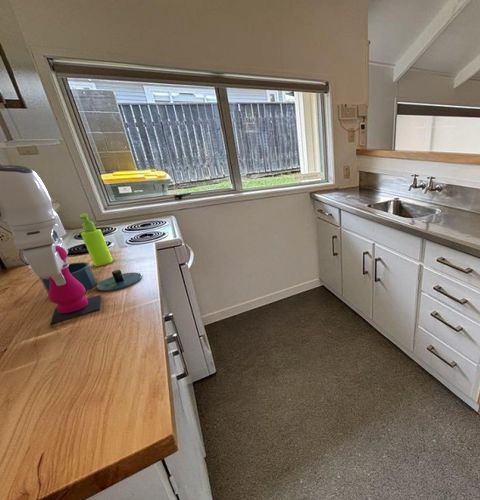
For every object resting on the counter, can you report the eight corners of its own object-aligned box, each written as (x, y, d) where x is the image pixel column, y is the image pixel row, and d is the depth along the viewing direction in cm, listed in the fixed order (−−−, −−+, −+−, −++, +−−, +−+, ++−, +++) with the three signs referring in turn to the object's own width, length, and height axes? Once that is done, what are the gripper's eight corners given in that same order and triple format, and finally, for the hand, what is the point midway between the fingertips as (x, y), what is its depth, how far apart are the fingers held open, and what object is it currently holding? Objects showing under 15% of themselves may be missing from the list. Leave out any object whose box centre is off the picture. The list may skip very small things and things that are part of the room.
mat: (51, 326, 74) (50, 323, 73) (57, 310, 81) (55, 307, 81) (100, 311, 79) (99, 308, 79) (101, 297, 87) (100, 294, 86)
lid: (97, 297, 87) (91, 284, 85) (98, 283, 96) (93, 270, 94) (143, 284, 94) (139, 271, 92) (141, 272, 102) (136, 260, 101)
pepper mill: (64, 303, 81) (34, 238, 74) (95, 298, 84) (69, 234, 76) (50, 317, 75) (16, 247, 68) (83, 311, 78) (54, 243, 70)
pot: (47, 304, 84) (36, 282, 81) (53, 289, 93) (43, 269, 90) (96, 291, 91) (87, 270, 88) (98, 278, 99) (89, 259, 96)
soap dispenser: (94, 268, 107) (72, 217, 100) (94, 262, 112) (73, 214, 105) (113, 263, 111) (93, 214, 103) (112, 258, 116) (93, 211, 108)
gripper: (30, 225, 77) (53, 271, 82) (11, 245, 62) (40, 299, 67) (62, 221, 81) (81, 264, 86) (51, 238, 66) (75, 290, 71)
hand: (63, 280), depth 76 cm, fingers closed on pepper mill, 5 cm apart
